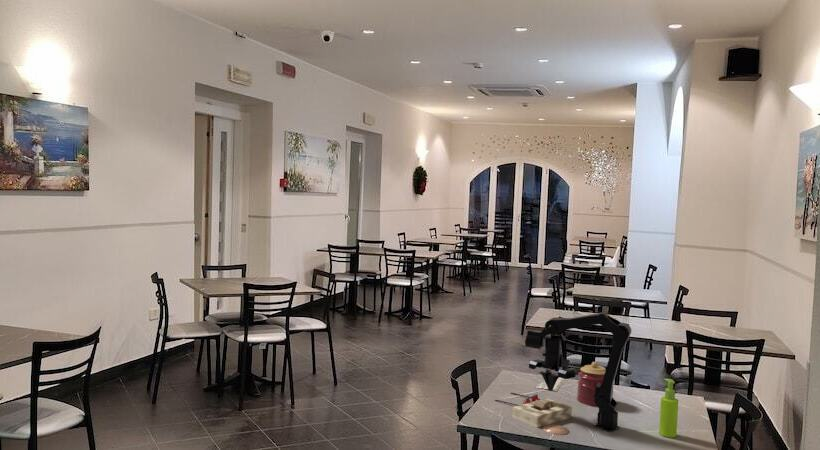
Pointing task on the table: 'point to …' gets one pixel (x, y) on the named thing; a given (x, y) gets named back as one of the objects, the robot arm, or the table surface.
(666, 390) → the soap dispenser
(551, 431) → the terracotta coaster
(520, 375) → the table surface
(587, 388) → the canister
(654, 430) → the table surface
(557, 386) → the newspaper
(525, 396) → the glasses
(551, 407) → the cream wooden tray
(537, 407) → the walnut slab
